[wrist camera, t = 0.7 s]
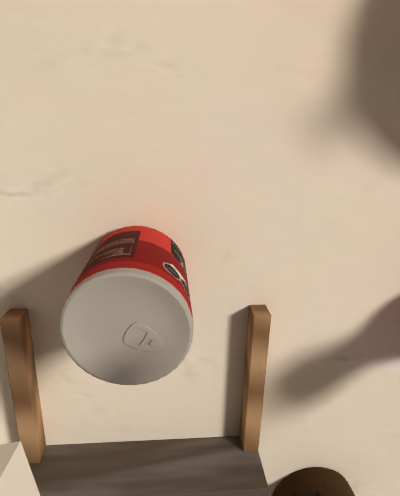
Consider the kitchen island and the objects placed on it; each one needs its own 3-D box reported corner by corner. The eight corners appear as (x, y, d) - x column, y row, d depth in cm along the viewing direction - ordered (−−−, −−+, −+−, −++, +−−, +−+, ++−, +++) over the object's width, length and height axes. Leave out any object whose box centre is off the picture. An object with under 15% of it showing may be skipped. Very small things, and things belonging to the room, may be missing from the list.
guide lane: (9, 309, 32) (-25, 348, 26) (265, 304, 34) (284, 340, 28) (32, 460, 37) (8, 519, 32) (252, 448, 40) (266, 502, 34)
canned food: (172, 313, 34) (174, 397, 23) (85, 293, 32) (46, 372, 22) (196, 237, 32) (211, 291, 21) (104, 212, 30) (71, 256, 20)
